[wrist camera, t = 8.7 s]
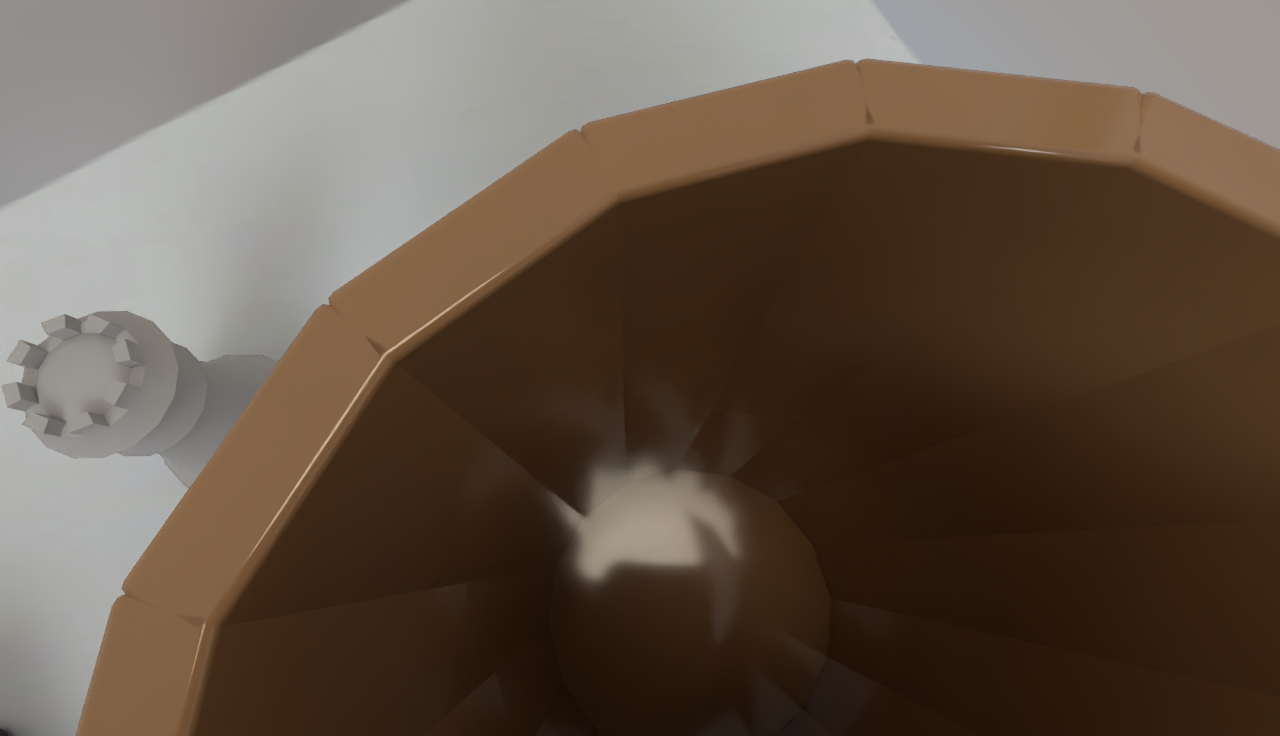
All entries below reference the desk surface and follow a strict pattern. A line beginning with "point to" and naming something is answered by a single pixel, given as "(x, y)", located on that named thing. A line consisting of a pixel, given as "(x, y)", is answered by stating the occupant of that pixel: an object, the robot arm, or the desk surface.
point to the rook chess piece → (130, 391)
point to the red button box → (3, 733)
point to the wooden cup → (763, 441)
